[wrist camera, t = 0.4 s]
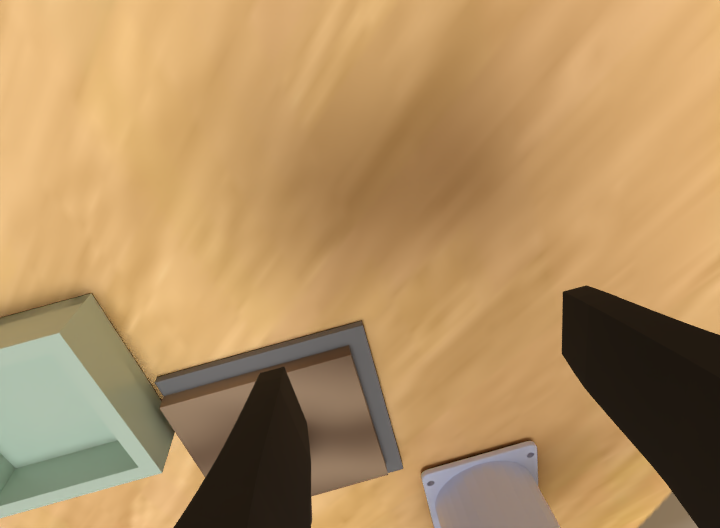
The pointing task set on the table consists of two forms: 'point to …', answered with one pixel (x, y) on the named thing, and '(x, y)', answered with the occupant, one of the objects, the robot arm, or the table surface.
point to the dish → (72, 408)
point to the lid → (319, 405)
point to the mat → (294, 351)
